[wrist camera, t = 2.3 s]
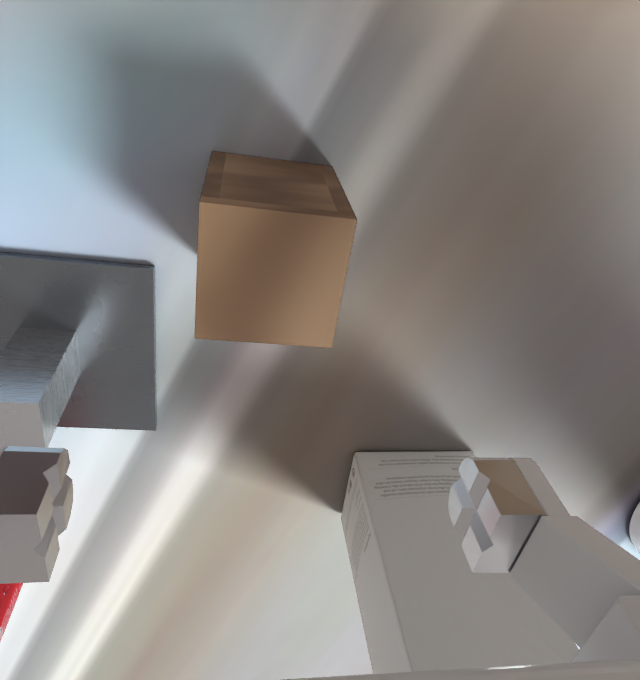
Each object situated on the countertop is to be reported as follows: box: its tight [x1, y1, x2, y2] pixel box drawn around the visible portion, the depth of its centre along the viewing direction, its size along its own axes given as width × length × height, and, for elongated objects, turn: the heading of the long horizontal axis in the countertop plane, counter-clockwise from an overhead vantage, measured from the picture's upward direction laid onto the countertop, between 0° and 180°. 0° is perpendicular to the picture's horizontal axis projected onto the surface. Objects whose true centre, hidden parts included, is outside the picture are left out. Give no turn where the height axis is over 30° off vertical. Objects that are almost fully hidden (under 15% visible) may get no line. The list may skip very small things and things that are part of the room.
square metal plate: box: [0, 252, 157, 448], centre depth 24 cm, size 10×10×6 cm
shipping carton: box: [195, 151, 357, 348], centre depth 22 cm, size 5×5×7 cm
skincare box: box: [341, 451, 579, 674], centre depth 29 cm, size 8×7×16 cm
